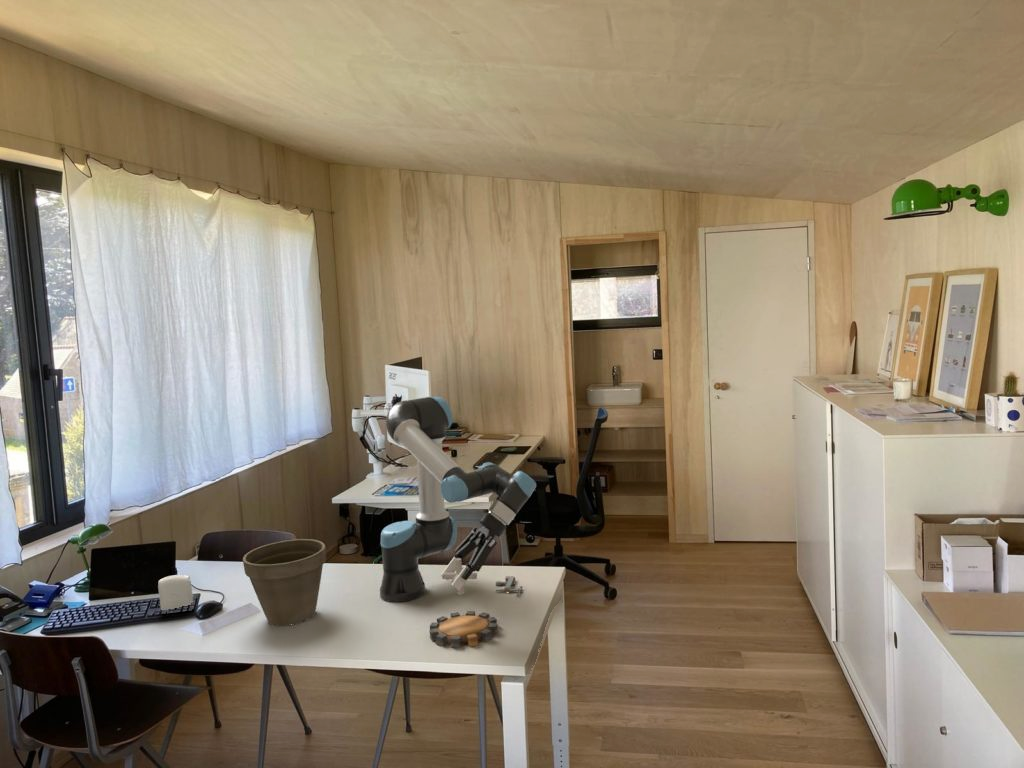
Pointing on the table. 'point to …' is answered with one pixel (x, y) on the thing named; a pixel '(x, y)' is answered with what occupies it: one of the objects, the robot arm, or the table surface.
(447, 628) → the sprocket wheel
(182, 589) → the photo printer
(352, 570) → the table surface
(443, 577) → the pipe connector
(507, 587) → the clamp
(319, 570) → the plant pot
